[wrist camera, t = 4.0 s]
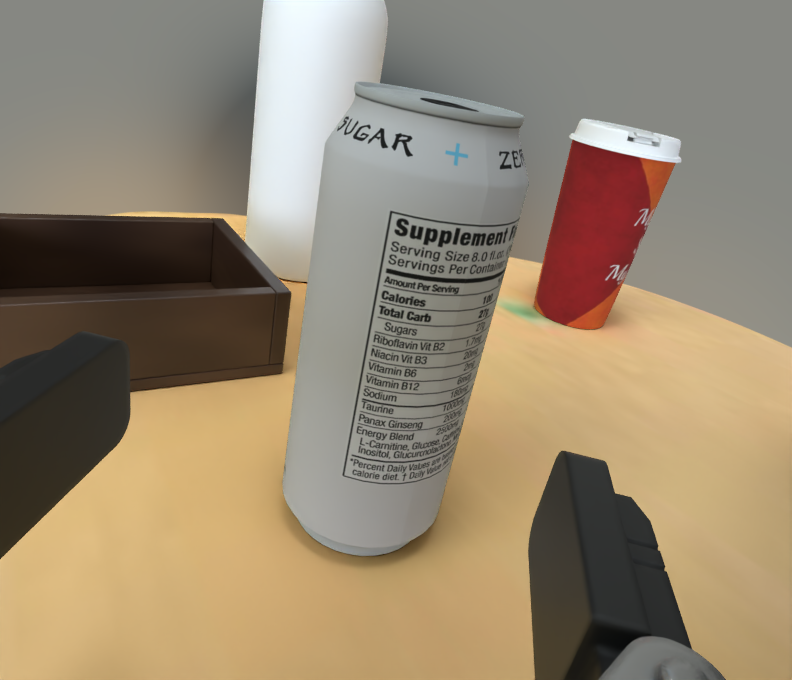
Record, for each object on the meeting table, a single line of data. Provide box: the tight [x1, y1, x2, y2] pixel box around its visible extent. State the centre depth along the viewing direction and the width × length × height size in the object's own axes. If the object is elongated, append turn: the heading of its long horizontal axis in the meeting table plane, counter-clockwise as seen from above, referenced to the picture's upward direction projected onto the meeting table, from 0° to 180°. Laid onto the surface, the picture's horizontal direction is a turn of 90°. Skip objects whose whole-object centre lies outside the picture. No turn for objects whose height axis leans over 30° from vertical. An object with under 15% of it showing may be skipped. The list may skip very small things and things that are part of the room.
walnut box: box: [0, 213, 291, 391], centre depth 31 cm, size 14×12×5 cm
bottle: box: [245, 0, 388, 282], centre depth 40 cm, size 8×8×30 cm
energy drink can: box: [283, 82, 529, 556], centre depth 20 cm, size 6×6×15 cm
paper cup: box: [534, 119, 681, 329], centre depth 44 cm, size 8×8×14 cm
